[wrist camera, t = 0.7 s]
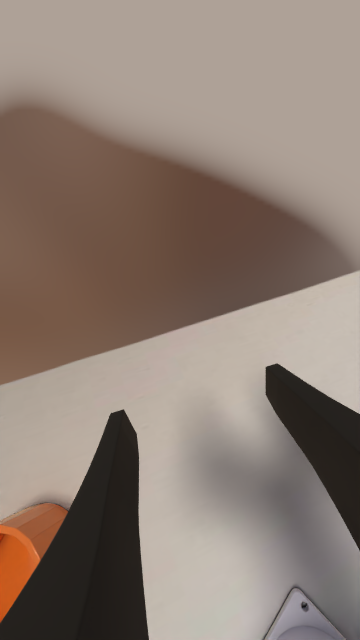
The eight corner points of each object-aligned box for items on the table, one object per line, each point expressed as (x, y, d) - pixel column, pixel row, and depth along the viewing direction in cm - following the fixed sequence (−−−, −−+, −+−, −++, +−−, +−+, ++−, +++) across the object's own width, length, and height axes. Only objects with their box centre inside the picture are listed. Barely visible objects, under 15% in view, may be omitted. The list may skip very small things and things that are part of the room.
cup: (106, 568, 20) (71, 617, 15) (18, 685, 18) (-56, 785, 13) (49, 479, 24) (6, 494, 19) (-29, 567, 22) (-101, 610, 17)
